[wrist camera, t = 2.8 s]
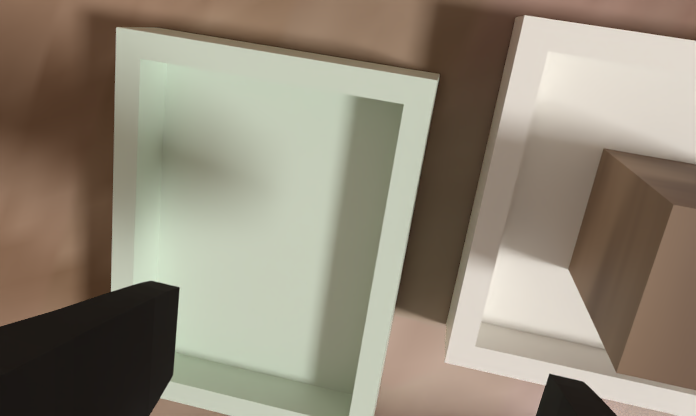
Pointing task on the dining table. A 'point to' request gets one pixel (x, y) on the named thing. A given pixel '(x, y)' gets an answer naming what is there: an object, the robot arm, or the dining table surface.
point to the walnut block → (641, 265)
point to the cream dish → (562, 198)
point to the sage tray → (267, 213)
